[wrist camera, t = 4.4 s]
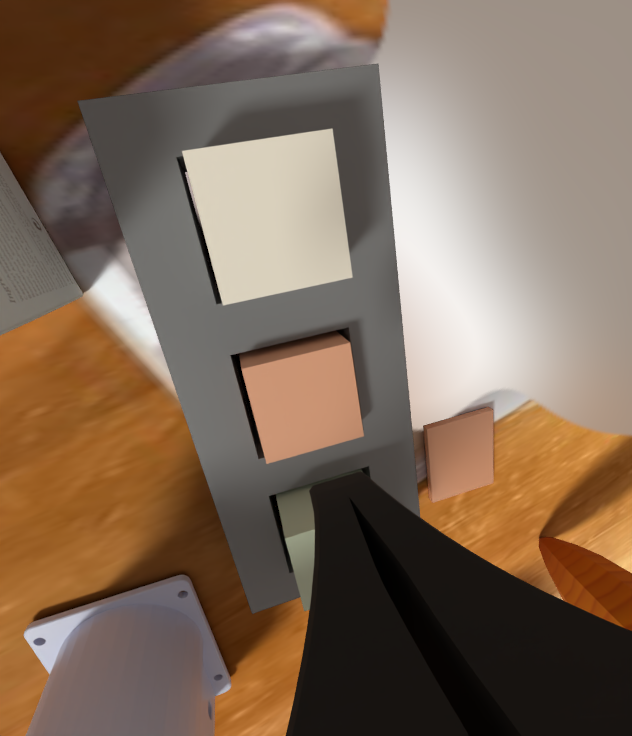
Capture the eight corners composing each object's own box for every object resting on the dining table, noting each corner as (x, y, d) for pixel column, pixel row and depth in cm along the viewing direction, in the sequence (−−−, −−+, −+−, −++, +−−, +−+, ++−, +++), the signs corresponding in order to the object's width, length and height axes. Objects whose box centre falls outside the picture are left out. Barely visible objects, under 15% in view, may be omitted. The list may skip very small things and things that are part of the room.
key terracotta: (339, 401, 18) (364, 436, 15) (258, 422, 18) (266, 464, 15) (326, 322, 17) (350, 342, 14) (237, 343, 16) (241, 369, 13)
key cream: (324, 268, 15) (352, 277, 12) (222, 289, 14) (222, 305, 11) (305, 154, 13) (332, 128, 10) (191, 172, 13) (181, 150, 10)
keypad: (398, 515, 22) (423, 554, 20) (248, 563, 21) (252, 613, 18) (349, 95, 15) (378, 63, 12) (107, 128, 13) (77, 101, 11)
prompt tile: (489, 479, 23) (493, 483, 23) (429, 498, 22) (432, 502, 22) (488, 406, 21) (493, 409, 21) (423, 425, 21) (427, 429, 20)
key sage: (365, 523, 20) (393, 579, 16) (290, 547, 19) (304, 611, 16) (354, 459, 18) (383, 507, 15) (273, 482, 18) (284, 538, 14)
